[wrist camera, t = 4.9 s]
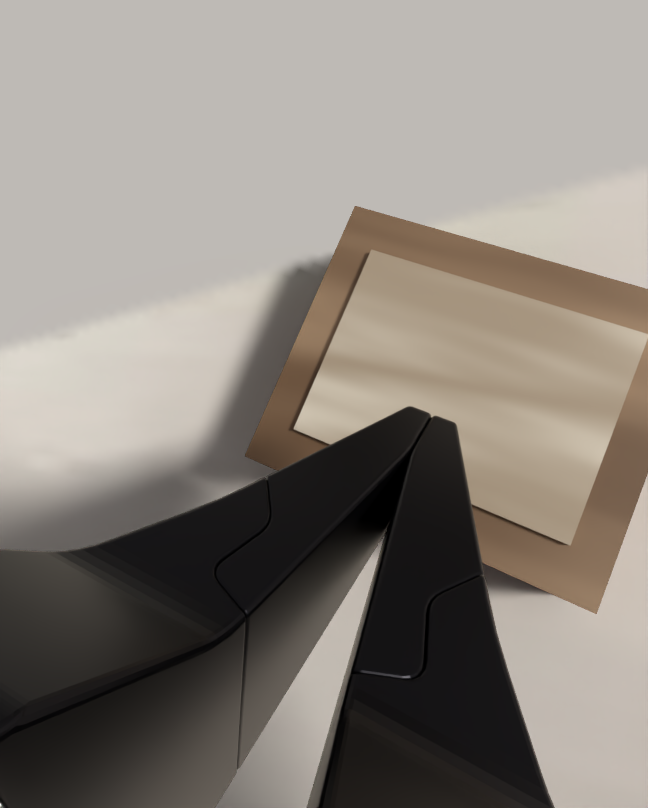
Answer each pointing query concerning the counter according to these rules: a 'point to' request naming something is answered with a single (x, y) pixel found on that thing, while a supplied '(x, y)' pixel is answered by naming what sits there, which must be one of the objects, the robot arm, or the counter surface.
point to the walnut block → (483, 387)
